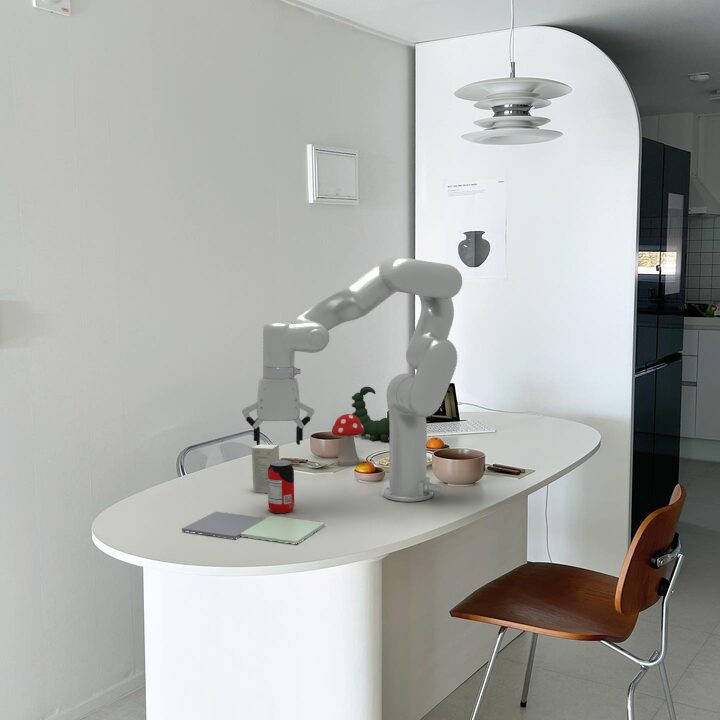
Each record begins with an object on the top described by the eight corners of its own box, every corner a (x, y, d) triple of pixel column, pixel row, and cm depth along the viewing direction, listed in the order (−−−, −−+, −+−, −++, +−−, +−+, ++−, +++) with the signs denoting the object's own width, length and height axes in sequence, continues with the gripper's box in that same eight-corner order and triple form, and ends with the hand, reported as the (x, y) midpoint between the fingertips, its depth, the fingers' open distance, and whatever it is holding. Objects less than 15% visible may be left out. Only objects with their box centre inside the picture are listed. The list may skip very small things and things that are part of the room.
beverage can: (299, 511, 212) (298, 463, 211) (276, 516, 209) (275, 467, 207) (286, 505, 217) (285, 458, 216) (263, 509, 214) (262, 461, 212)
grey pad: (266, 521, 204) (266, 518, 204) (235, 539, 192) (235, 536, 192) (215, 514, 210) (215, 511, 210) (182, 531, 197) (181, 528, 197)
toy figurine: (350, 444, 293) (416, 446, 280) (345, 388, 291) (412, 387, 278) (364, 439, 301) (429, 440, 288) (359, 384, 299) (425, 383, 286)
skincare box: (280, 489, 232) (280, 444, 230) (273, 494, 227) (273, 448, 226) (259, 487, 234) (258, 443, 232) (251, 492, 229) (251, 446, 228)
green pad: (324, 526, 201) (324, 522, 201) (296, 545, 188) (296, 541, 188) (271, 519, 206) (271, 515, 206) (240, 536, 193) (240, 533, 193)
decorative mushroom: (341, 469, 253) (340, 418, 251) (326, 463, 260) (325, 413, 258) (370, 464, 258) (369, 414, 256) (354, 458, 266) (354, 410, 264)
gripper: (313, 371, 214) (312, 440, 216) (242, 371, 211) (241, 441, 213) (316, 375, 206) (315, 446, 208) (242, 375, 204) (242, 447, 206)
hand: (278, 443), depth 211 cm, fingers open, 9 cm apart
